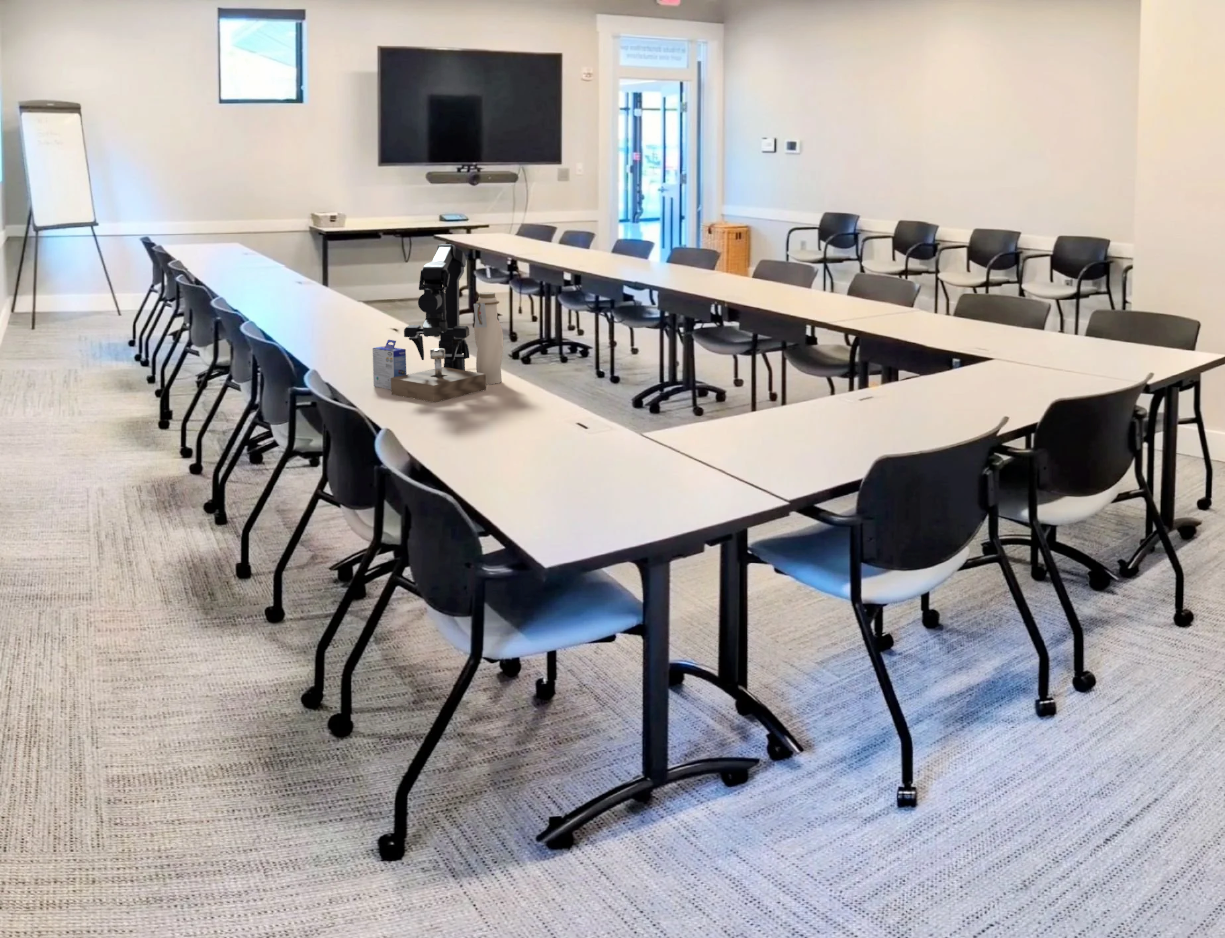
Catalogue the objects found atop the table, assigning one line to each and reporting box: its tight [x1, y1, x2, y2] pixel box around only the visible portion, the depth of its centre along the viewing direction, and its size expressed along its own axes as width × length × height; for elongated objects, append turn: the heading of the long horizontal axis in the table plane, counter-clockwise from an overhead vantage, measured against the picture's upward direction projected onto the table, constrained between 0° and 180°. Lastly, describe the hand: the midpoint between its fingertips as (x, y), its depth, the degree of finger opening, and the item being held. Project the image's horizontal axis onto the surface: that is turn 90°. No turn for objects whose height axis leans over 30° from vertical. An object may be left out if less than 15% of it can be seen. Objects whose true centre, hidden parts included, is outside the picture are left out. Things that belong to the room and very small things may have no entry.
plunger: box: [429, 347, 445, 378], centre depth 340 cm, size 4×4×9 cm
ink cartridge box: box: [372, 339, 407, 390], centre depth 347 cm, size 10×6×14 cm, turn 53°
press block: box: [390, 366, 487, 403], centre depth 342 cm, size 22×18×5 cm
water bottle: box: [473, 291, 504, 385], centre depth 353 cm, size 10×9×28 cm
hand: (437, 360), depth 340 cm, fingers open, 9 cm apart
